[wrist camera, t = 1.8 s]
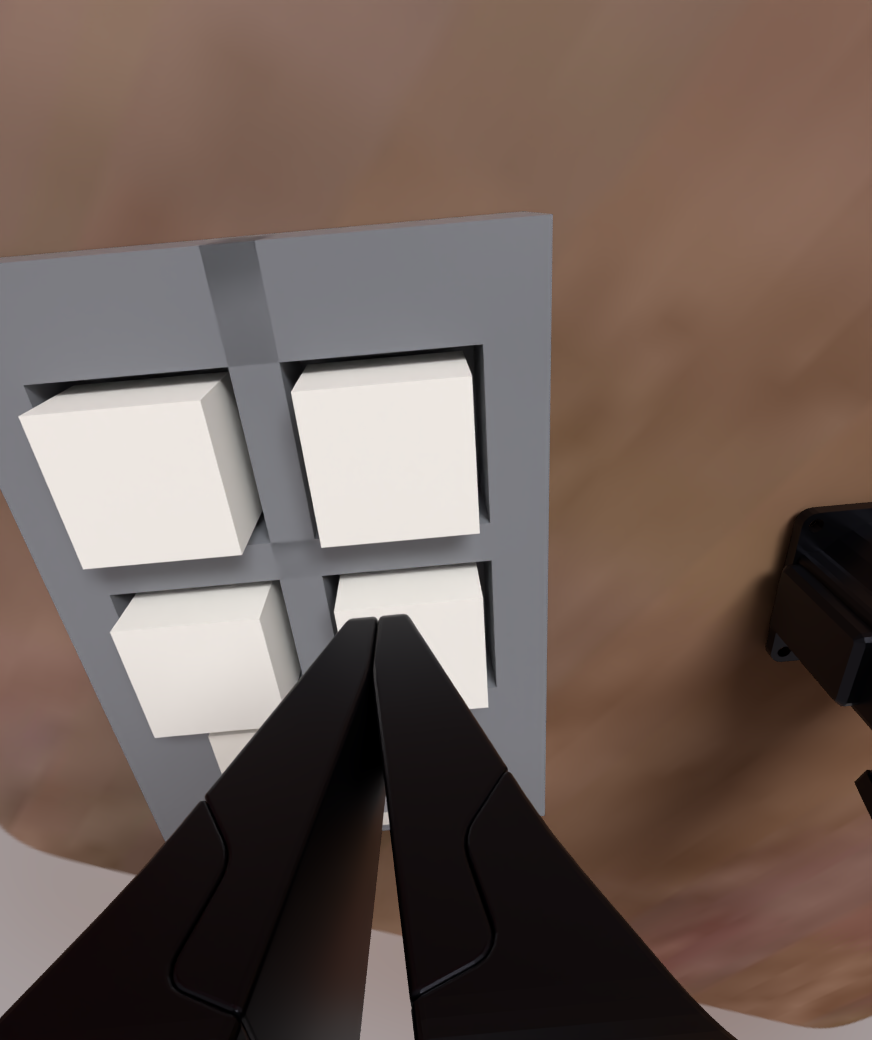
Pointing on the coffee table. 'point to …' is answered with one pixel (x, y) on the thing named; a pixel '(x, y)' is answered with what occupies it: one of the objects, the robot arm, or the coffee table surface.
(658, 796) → the coffee table surface
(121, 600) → the panel
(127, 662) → the button
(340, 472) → the button
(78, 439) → the button
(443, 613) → the button
